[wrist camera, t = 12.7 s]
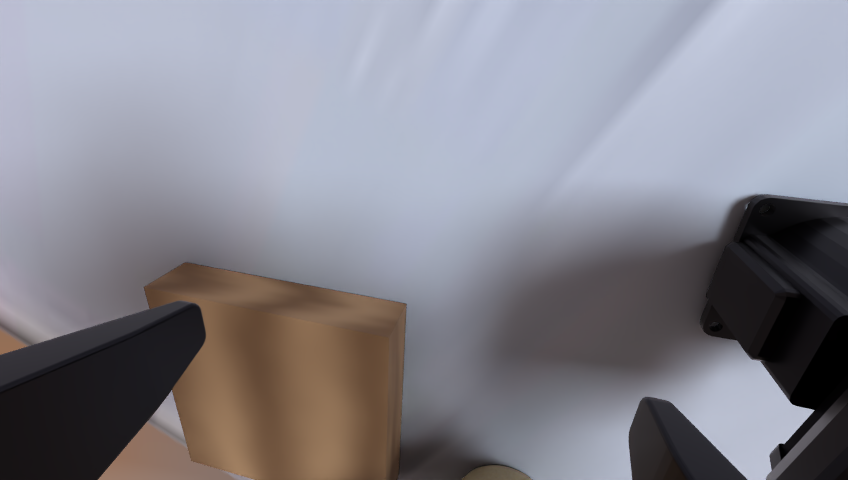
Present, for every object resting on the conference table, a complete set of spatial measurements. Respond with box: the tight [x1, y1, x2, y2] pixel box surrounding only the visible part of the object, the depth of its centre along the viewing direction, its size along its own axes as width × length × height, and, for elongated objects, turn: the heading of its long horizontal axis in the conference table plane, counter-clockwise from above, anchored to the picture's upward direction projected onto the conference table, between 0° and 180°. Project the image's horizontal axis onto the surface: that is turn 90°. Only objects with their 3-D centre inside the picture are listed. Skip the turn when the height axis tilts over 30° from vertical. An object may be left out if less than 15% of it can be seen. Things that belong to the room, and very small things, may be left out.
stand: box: [144, 262, 406, 480], centre depth 25 cm, size 14×14×3 cm
